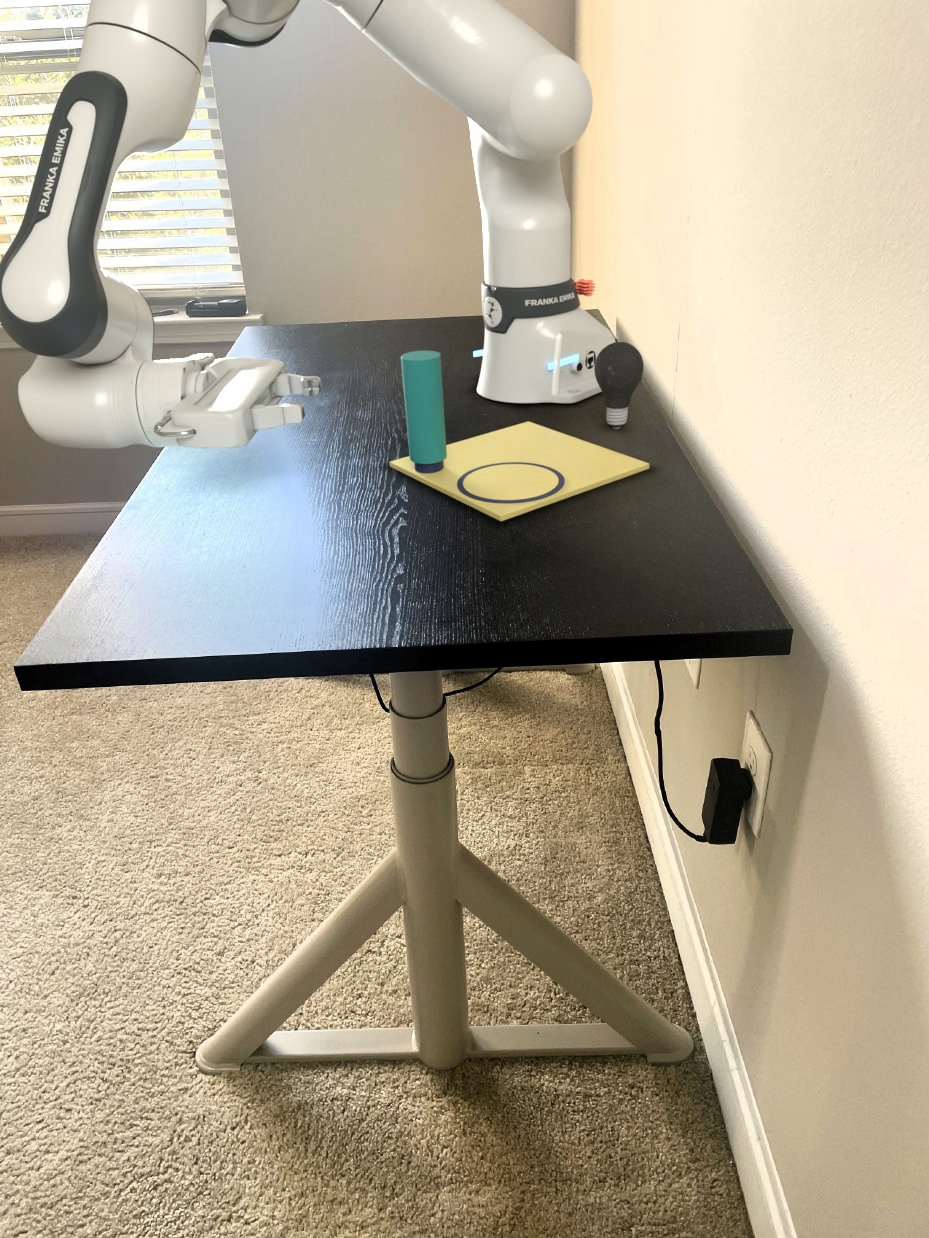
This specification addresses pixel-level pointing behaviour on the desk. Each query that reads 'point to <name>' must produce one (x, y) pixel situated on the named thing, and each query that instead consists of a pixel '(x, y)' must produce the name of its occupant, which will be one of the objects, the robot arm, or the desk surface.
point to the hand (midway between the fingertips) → (312, 398)
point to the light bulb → (618, 379)
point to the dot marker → (424, 410)
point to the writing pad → (522, 469)
